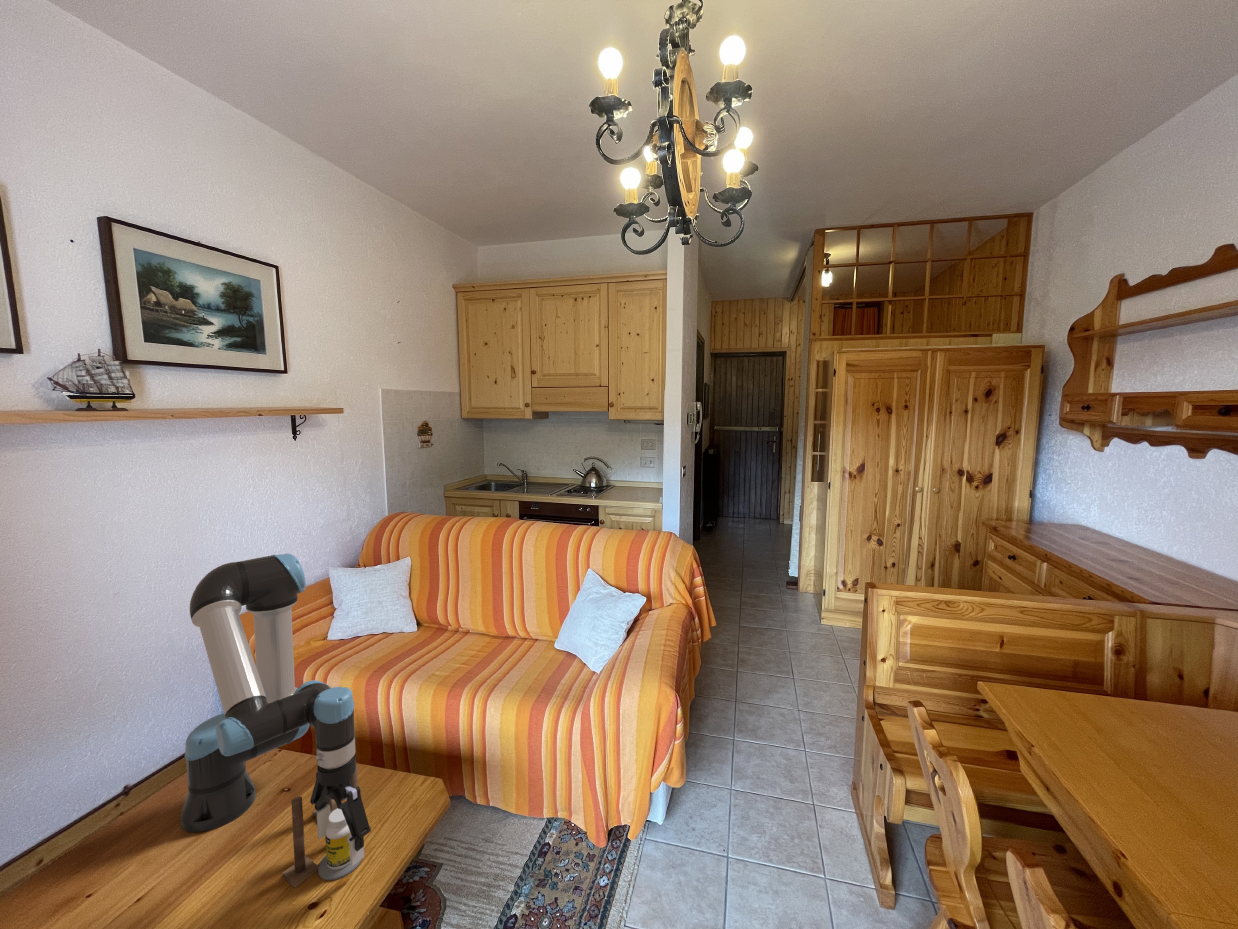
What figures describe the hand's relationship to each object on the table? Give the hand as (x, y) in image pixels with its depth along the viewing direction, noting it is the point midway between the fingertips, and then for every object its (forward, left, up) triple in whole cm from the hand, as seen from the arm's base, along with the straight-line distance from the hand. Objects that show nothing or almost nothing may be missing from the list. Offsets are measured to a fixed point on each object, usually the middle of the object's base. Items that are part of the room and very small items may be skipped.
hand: (340, 847), depth 111 cm
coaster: (0, 0, -4) cm, 4 cm away
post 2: (-18, +6, -4) cm, 19 cm away
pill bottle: (0, 0, -3) cm, 3 cm away
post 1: (-5, -6, -4) cm, 9 cm away
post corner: (-5, +6, -4) cm, 9 cm away
